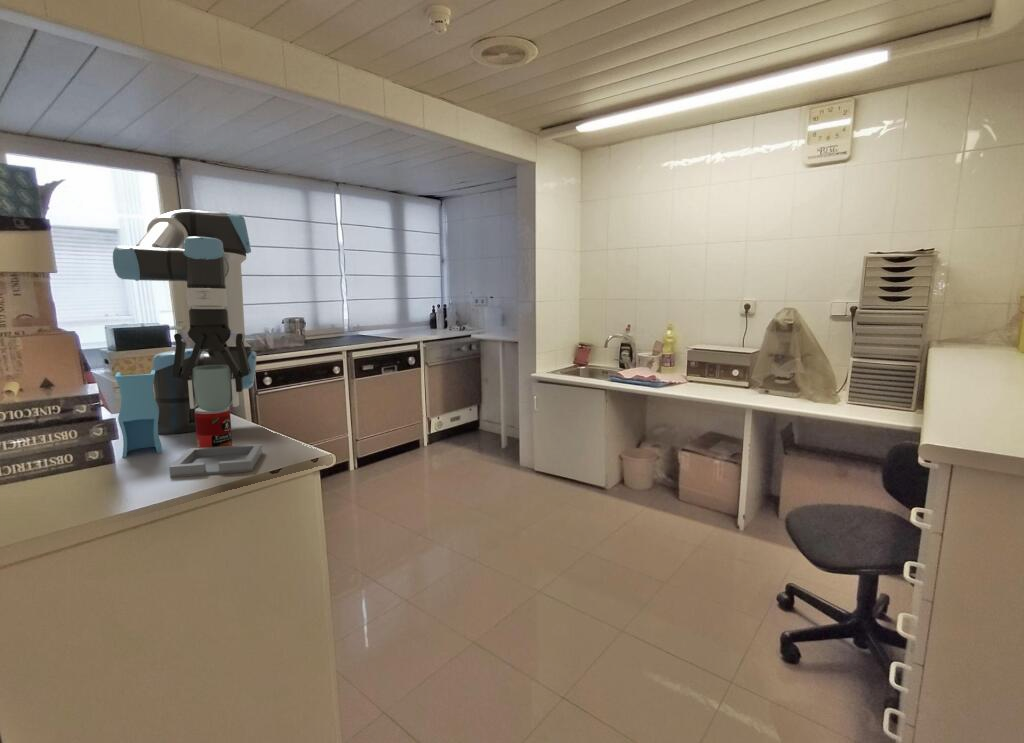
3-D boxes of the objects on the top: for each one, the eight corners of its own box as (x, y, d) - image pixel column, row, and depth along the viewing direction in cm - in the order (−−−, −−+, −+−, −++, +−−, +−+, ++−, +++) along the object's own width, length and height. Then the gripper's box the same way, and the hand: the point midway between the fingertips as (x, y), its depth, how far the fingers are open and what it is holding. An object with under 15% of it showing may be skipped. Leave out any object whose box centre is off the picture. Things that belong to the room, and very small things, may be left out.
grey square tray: (190, 457, 122) (189, 448, 121) (262, 452, 126) (261, 443, 126) (170, 477, 108) (169, 467, 108) (251, 471, 113) (250, 461, 113)
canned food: (217, 455, 124) (214, 412, 122) (189, 452, 126) (186, 410, 124) (239, 446, 132) (237, 405, 130) (213, 444, 133) (210, 404, 131)
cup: (206, 415, 110) (203, 370, 109) (188, 410, 114) (185, 367, 113) (241, 408, 117) (238, 366, 115) (223, 404, 121) (220, 363, 119)
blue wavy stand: (162, 444, 132) (155, 370, 129) (161, 452, 125) (154, 374, 122) (124, 449, 127) (116, 372, 124) (122, 457, 121) (113, 376, 118)
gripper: (147, 307, 105) (156, 412, 109) (256, 308, 112) (261, 407, 115) (160, 306, 112) (169, 405, 116) (262, 308, 119) (267, 401, 122)
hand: (215, 406), depth 115 cm, fingers closed on cup, 8 cm apart
